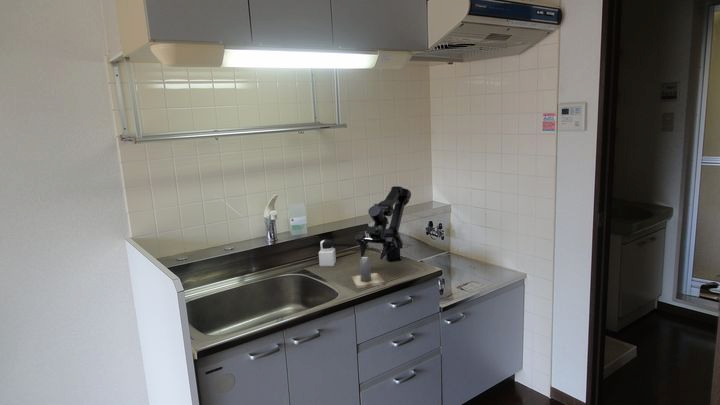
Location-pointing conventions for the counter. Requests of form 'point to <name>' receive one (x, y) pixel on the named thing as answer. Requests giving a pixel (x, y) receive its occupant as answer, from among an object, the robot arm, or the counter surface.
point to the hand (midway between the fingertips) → (371, 258)
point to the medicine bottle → (327, 253)
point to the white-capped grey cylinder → (365, 269)
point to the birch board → (374, 282)
